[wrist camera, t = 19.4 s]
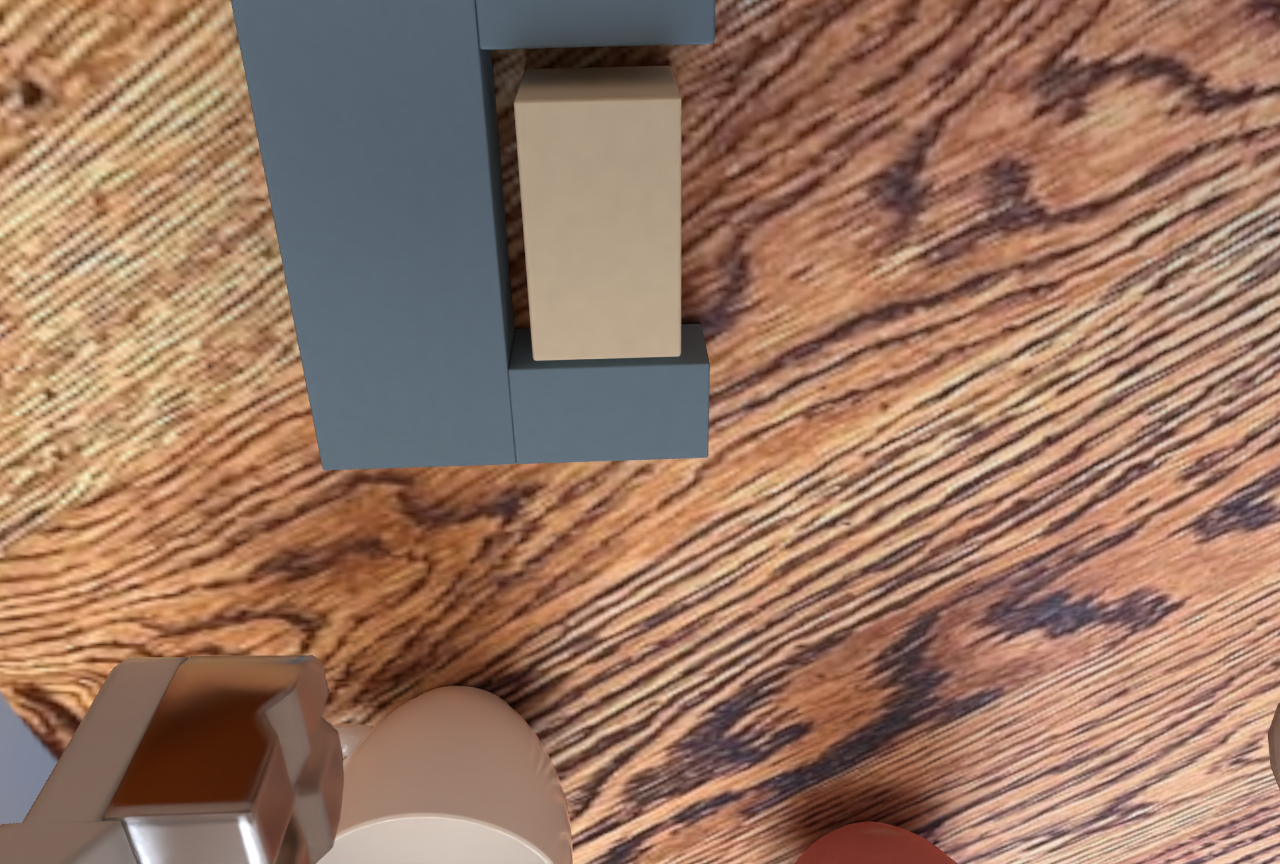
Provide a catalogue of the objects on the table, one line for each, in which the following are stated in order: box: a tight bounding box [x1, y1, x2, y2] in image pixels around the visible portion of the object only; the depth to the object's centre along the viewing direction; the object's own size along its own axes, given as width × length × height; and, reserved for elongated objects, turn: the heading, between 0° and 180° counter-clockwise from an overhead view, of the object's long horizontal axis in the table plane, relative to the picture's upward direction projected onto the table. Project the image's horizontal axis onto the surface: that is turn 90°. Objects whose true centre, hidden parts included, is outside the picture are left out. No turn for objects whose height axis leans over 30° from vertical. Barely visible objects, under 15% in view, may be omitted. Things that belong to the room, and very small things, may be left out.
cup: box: [316, 686, 573, 864], centre depth 32 cm, size 8×10×7 cm
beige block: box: [514, 66, 682, 361], centre depth 25 cm, size 6×4×4 cm, turn 1°
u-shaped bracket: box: [231, 0, 715, 470], centre depth 25 cm, size 13×10×2 cm
